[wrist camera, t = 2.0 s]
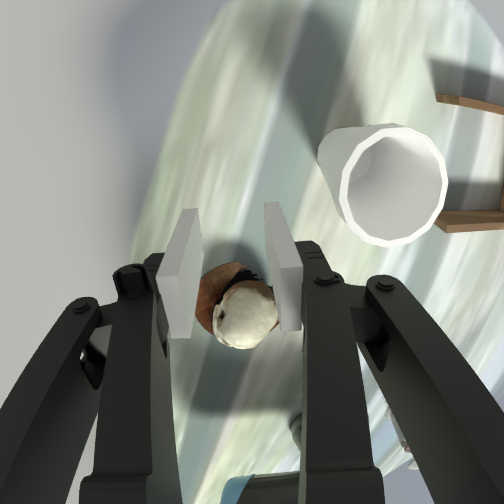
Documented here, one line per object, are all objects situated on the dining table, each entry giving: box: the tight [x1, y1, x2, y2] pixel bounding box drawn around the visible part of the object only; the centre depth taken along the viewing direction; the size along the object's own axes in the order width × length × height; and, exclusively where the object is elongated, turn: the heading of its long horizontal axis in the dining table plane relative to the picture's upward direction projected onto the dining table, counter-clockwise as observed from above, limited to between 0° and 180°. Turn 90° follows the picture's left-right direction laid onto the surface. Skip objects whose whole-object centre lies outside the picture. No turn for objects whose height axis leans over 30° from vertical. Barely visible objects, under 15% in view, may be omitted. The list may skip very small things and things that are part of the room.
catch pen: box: [434, 94, 504, 233], centre depth 32 cm, size 16×15×4 cm
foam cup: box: [317, 123, 448, 248], centre depth 28 cm, size 10×9×13 cm
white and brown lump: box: [195, 262, 279, 349], centre depth 40 cm, size 12×10×10 cm
